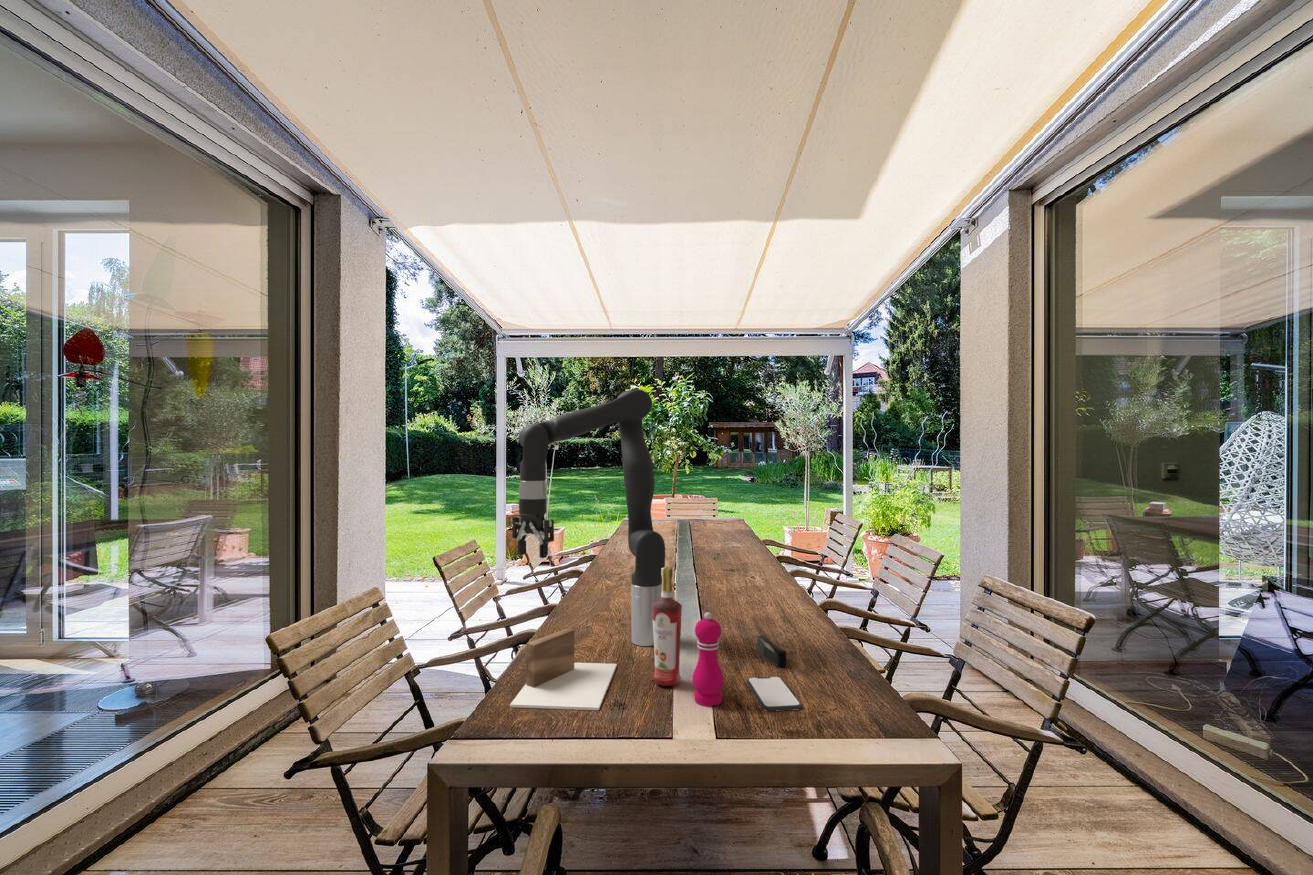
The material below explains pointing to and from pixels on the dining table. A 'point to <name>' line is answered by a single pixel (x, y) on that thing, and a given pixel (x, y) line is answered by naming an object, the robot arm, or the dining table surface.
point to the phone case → (773, 693)
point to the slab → (549, 657)
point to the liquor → (667, 633)
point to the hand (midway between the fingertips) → (532, 556)
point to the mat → (570, 689)
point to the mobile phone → (771, 651)
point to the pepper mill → (708, 663)
